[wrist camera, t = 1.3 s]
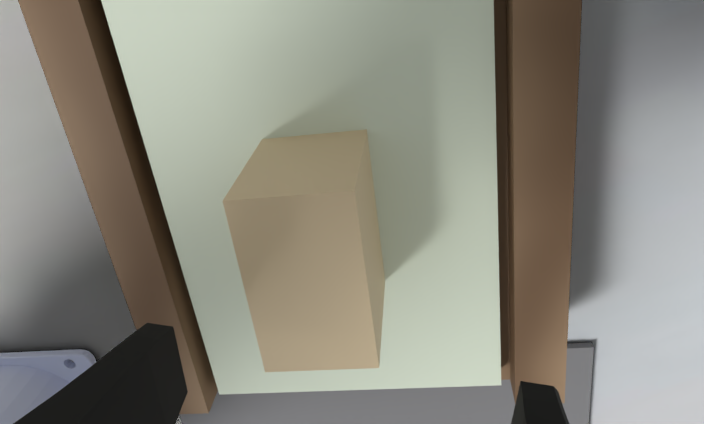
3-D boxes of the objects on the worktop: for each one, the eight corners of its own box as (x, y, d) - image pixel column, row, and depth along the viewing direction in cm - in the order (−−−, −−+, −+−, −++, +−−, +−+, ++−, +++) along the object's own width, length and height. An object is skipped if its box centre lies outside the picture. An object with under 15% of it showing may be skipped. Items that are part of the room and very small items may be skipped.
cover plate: (225, 378, 22) (181, 490, 18) (110, -17, 16) (2, 11, 12) (498, 369, 21) (520, 487, 17) (488, -67, 15) (519, -56, 10)
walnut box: (202, 340, 25) (166, 414, 22) (79, -72, 18) (-6, -66, 15) (540, 324, 24) (564, 403, 20) (548, -142, 16) (588, -155, 13)
